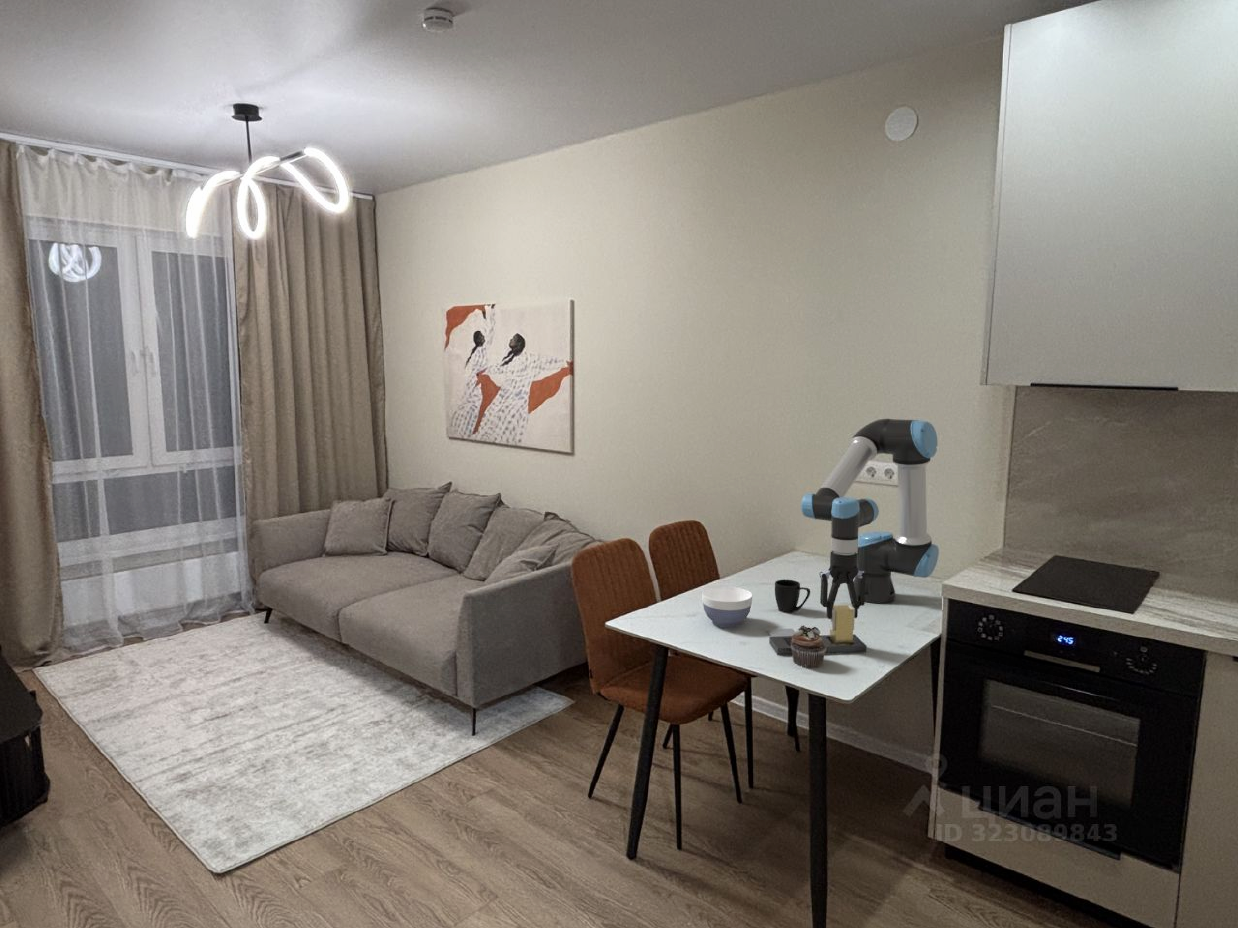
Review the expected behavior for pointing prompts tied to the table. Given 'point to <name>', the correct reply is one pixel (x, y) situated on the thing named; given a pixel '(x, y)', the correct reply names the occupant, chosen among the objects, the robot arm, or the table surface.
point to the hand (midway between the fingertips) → (841, 628)
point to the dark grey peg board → (858, 646)
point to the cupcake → (808, 647)
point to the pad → (780, 632)
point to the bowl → (727, 605)
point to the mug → (788, 595)
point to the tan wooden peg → (843, 625)
